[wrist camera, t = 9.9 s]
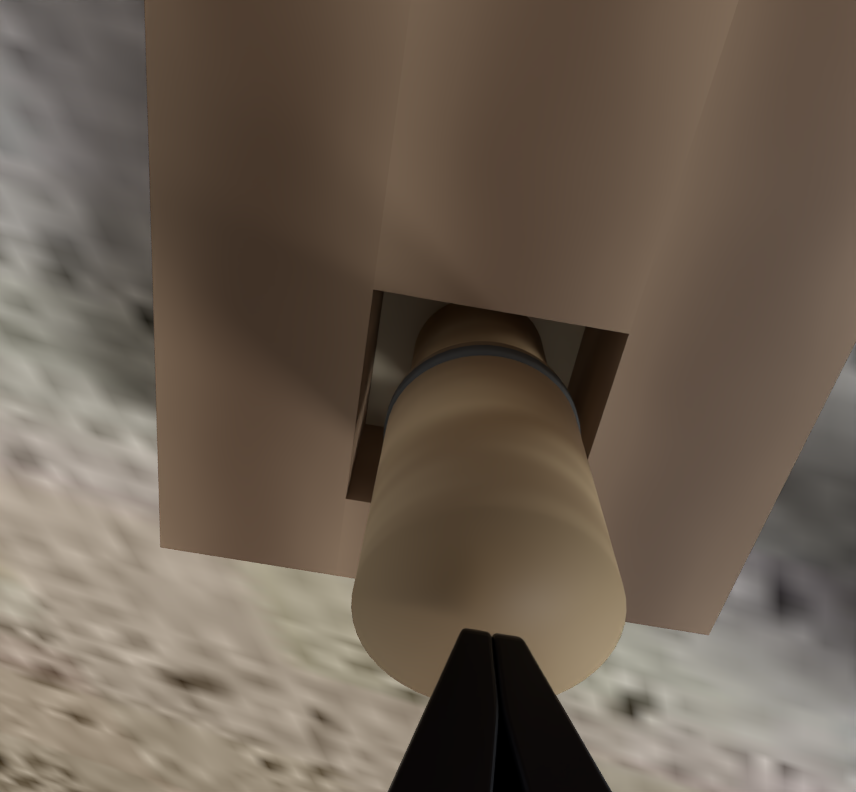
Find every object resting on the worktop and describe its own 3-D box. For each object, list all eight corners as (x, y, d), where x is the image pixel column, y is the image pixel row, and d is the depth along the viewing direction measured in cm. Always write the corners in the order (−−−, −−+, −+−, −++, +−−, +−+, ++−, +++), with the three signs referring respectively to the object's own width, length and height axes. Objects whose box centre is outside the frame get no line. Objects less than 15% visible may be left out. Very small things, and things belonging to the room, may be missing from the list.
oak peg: (574, 298, 17) (669, 529, 9) (536, 436, 19) (585, 726, 11) (413, 270, 17) (365, 479, 9) (390, 411, 19) (334, 687, 11)
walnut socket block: (1030, -366, 12) (1311, -566, 8) (663, 523, 21) (708, 635, 17) (239, -532, 12) (120, -827, 8) (218, 450, 21) (160, 547, 17)
